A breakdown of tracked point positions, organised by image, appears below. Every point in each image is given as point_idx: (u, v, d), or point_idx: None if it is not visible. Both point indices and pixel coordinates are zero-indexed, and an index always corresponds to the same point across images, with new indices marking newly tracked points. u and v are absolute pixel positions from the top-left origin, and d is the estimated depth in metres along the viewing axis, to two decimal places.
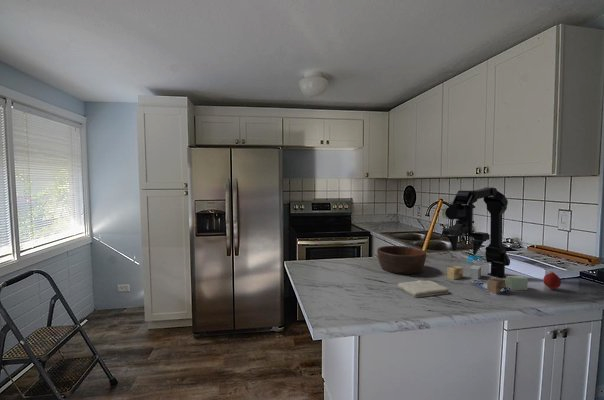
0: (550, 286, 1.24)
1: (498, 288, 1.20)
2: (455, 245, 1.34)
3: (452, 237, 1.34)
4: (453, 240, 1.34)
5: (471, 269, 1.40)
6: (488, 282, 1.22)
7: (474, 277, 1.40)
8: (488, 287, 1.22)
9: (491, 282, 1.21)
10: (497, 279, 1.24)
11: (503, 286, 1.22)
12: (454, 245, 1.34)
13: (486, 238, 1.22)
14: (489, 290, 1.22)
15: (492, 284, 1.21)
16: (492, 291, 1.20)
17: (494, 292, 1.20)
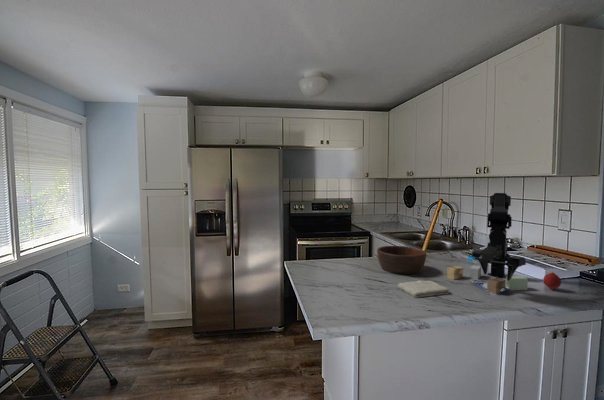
0: (550, 286, 1.24)
1: (498, 288, 1.20)
2: (486, 268, 1.27)
3: (483, 260, 1.26)
4: (484, 263, 1.26)
5: (471, 269, 1.40)
6: (488, 282, 1.22)
7: (474, 277, 1.40)
8: (488, 287, 1.22)
9: (491, 282, 1.21)
10: (497, 279, 1.24)
11: (503, 286, 1.22)
12: (485, 268, 1.26)
13: (522, 263, 1.14)
14: (489, 290, 1.22)
15: (492, 284, 1.21)
16: (492, 291, 1.20)
17: (494, 292, 1.20)
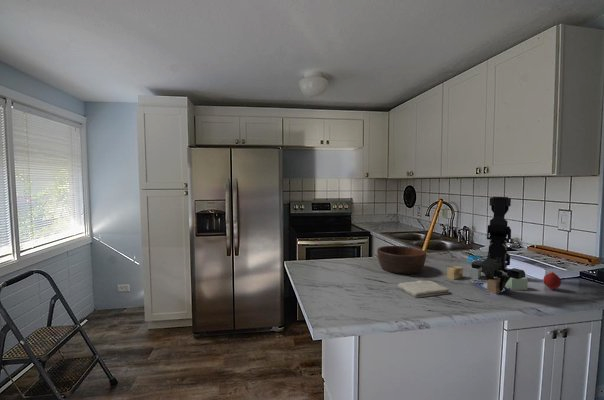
0: (550, 286, 1.24)
1: (498, 288, 1.20)
2: None
3: (489, 273, 1.24)
4: (490, 276, 1.24)
5: (471, 269, 1.40)
6: (488, 282, 1.22)
7: (474, 277, 1.40)
8: (488, 287, 1.22)
9: (491, 282, 1.21)
10: (497, 278, 1.24)
11: None
12: None
13: (522, 276, 1.14)
14: (489, 290, 1.22)
15: (492, 284, 1.21)
16: (492, 291, 1.20)
17: (494, 292, 1.20)
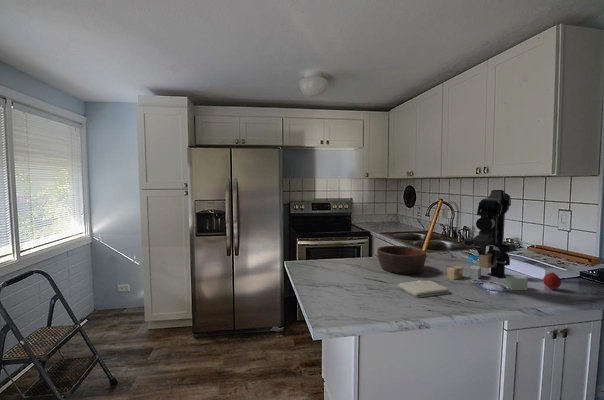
0: (550, 286, 1.24)
1: (490, 263, 1.24)
2: None
3: (481, 249, 1.27)
4: (482, 252, 1.27)
5: (471, 269, 1.40)
6: (480, 257, 1.25)
7: (474, 277, 1.40)
8: (480, 262, 1.25)
9: (483, 257, 1.24)
10: (489, 254, 1.27)
11: None
12: None
13: (512, 249, 1.18)
14: (481, 265, 1.25)
15: (484, 259, 1.24)
16: (484, 265, 1.24)
17: (486, 266, 1.23)
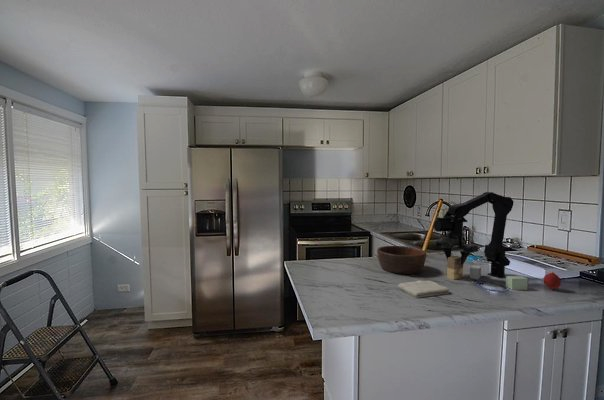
0: (550, 286, 1.24)
1: (456, 264, 1.39)
2: (449, 256, 1.44)
3: (446, 249, 1.43)
4: (447, 251, 1.44)
5: (471, 269, 1.40)
6: (448, 259, 1.40)
7: (474, 277, 1.40)
8: (448, 263, 1.40)
9: (450, 259, 1.39)
10: (457, 256, 1.42)
11: None
12: (448, 256, 1.44)
13: (475, 250, 1.32)
14: (449, 266, 1.40)
15: (451, 261, 1.39)
16: (451, 267, 1.39)
17: (453, 267, 1.38)
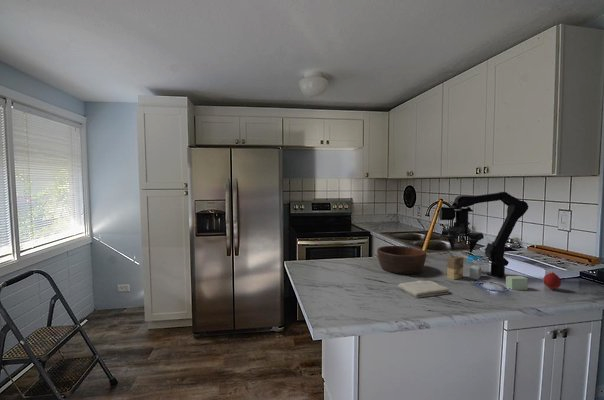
0: (550, 286, 1.24)
1: (456, 264, 1.39)
2: (453, 244, 1.52)
3: (450, 237, 1.51)
4: (451, 240, 1.51)
5: (471, 269, 1.40)
6: (448, 259, 1.40)
7: (474, 277, 1.40)
8: (448, 263, 1.40)
9: (450, 259, 1.39)
10: (457, 256, 1.42)
11: (461, 263, 1.40)
12: (452, 244, 1.51)
13: (481, 237, 1.39)
14: (449, 266, 1.40)
15: (451, 261, 1.39)
16: (451, 267, 1.39)
17: (453, 267, 1.38)
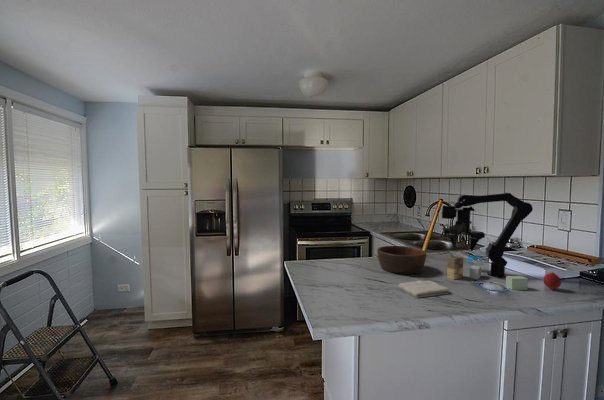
0: (550, 286, 1.24)
1: (456, 264, 1.39)
2: (455, 242, 1.54)
3: (452, 235, 1.53)
4: (453, 238, 1.54)
5: (471, 269, 1.40)
6: (448, 259, 1.40)
7: (474, 277, 1.40)
8: (448, 263, 1.40)
9: (450, 259, 1.39)
10: (457, 256, 1.42)
11: (461, 262, 1.40)
12: (454, 242, 1.54)
13: (481, 236, 1.41)
14: (449, 266, 1.40)
15: (451, 260, 1.39)
16: (451, 267, 1.39)
17: (453, 267, 1.38)
